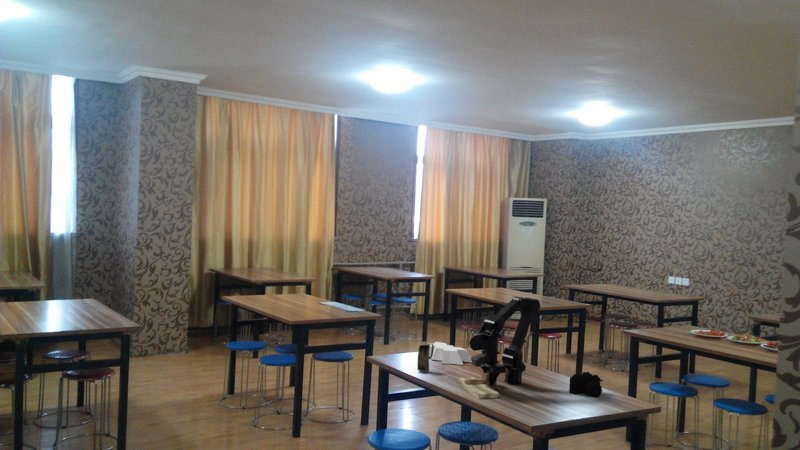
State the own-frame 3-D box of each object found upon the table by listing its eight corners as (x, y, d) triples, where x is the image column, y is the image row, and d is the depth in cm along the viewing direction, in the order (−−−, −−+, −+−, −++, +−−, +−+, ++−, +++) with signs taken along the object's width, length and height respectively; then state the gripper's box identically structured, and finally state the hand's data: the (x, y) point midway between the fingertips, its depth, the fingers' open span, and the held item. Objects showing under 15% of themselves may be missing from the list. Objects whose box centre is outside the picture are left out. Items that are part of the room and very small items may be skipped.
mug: (421, 371, 294) (423, 346, 293) (414, 369, 298) (416, 343, 298) (435, 370, 298) (436, 344, 298) (428, 367, 303) (429, 342, 302)
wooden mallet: (492, 385, 276) (492, 372, 276) (496, 388, 272) (497, 374, 272) (462, 387, 272) (463, 373, 271) (466, 389, 268) (467, 375, 268)
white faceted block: (407, 352, 334) (408, 342, 334) (435, 348, 347) (435, 338, 347) (454, 367, 307) (455, 356, 307) (482, 362, 320) (483, 351, 320)
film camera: (578, 399, 263) (579, 377, 262) (566, 392, 272) (567, 371, 272) (610, 397, 267) (611, 376, 266) (597, 391, 276) (598, 370, 276)
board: (473, 381, 281) (474, 377, 281) (498, 398, 258) (499, 393, 258) (455, 382, 278) (455, 377, 278) (478, 399, 255) (478, 394, 255)
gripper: (464, 344, 279) (463, 379, 280) (483, 354, 261) (481, 391, 262) (487, 343, 283) (486, 378, 283) (507, 353, 265) (505, 390, 265)
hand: (489, 384), depth 273 cm, fingers closed on wooden mallet, 4 cm apart
